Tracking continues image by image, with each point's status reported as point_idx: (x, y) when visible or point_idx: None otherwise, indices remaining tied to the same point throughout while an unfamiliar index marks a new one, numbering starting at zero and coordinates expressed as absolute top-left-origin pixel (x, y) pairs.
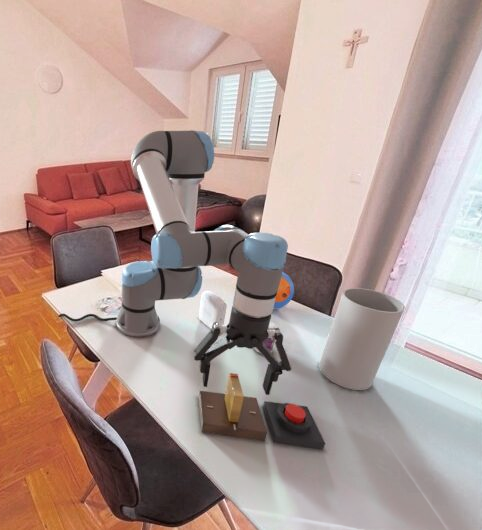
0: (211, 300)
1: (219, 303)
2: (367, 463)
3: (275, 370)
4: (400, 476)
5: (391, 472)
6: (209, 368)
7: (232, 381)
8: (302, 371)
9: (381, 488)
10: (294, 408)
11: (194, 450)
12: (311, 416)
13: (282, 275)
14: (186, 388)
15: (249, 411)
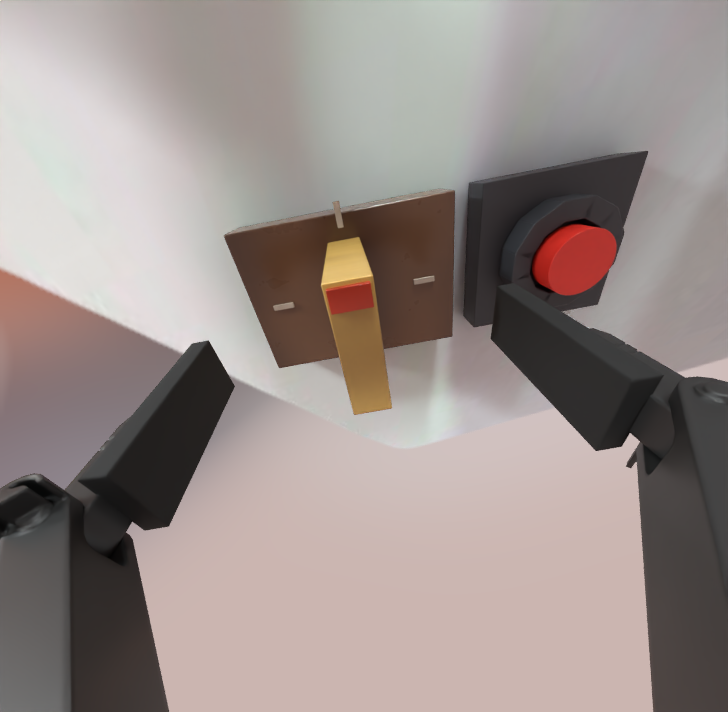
0: None
1: None
2: (662, 295)
3: (639, 457)
4: (709, 304)
5: (698, 300)
6: (180, 494)
7: (343, 343)
8: None
9: (638, 343)
10: (583, 253)
11: (281, 393)
12: (627, 207)
13: None
14: (172, 180)
15: (414, 281)
